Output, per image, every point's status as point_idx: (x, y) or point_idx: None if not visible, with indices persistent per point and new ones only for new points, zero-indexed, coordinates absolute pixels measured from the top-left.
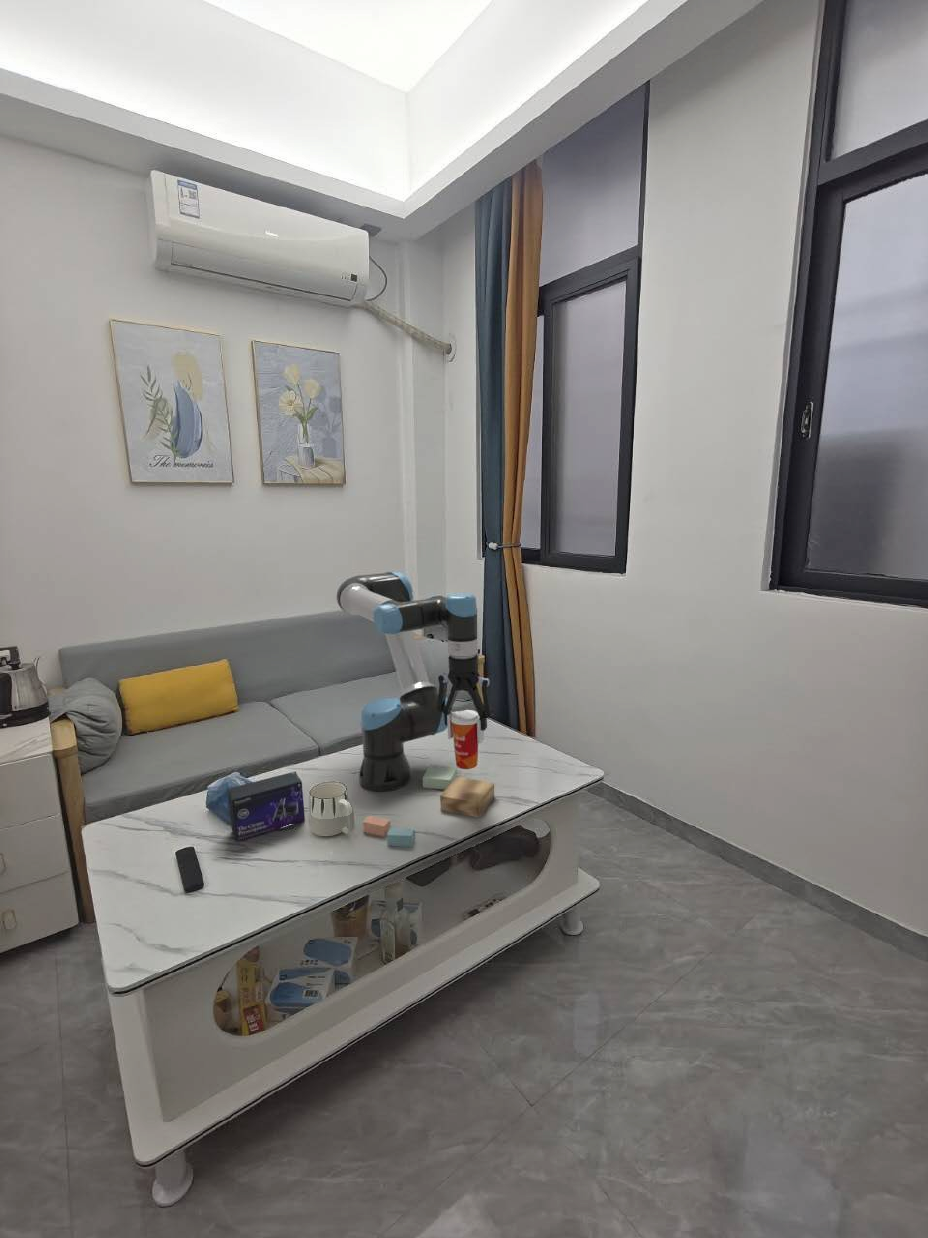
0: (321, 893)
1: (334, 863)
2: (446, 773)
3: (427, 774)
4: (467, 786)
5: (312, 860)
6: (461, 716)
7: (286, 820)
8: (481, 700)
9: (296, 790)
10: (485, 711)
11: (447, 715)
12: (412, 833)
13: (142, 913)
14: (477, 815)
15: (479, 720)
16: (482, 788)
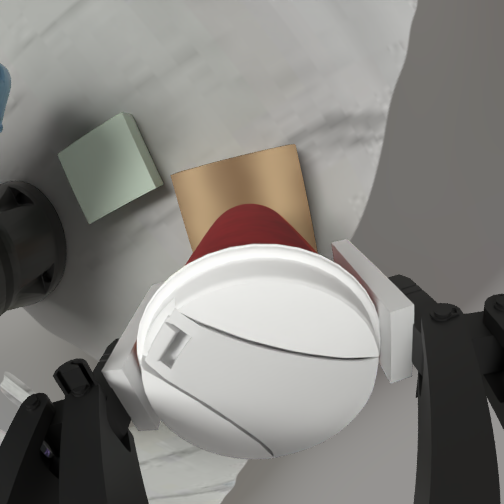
0: (225, 478)
1: (187, 452)
2: (121, 163)
3: (85, 202)
4: (236, 205)
5: (159, 457)
6: (262, 430)
7: None
8: (488, 424)
9: (47, 455)
10: (488, 399)
11: (141, 430)
12: None
13: None
14: None
15: (408, 373)
16: (282, 190)
